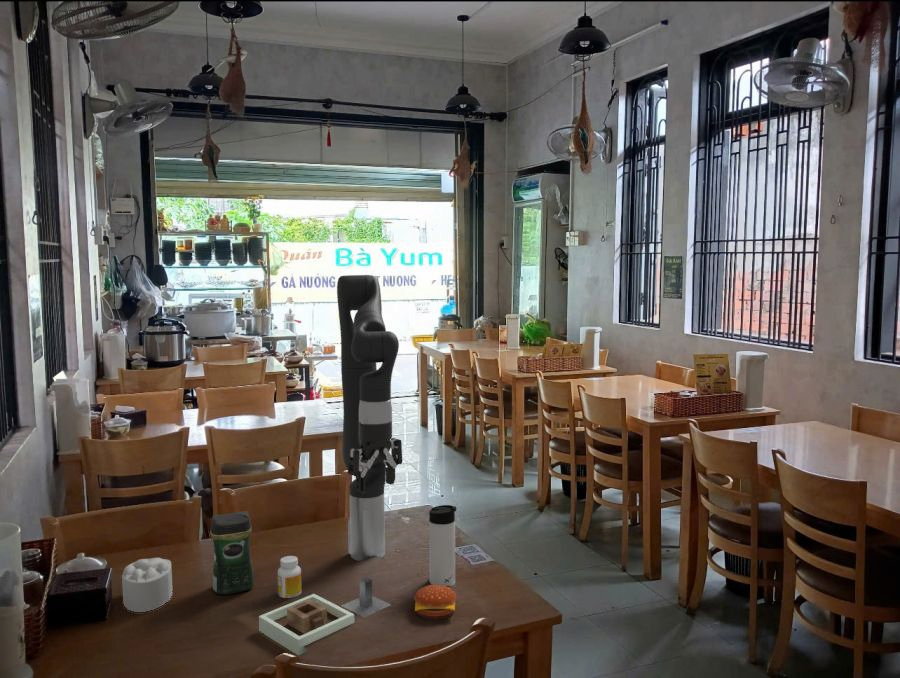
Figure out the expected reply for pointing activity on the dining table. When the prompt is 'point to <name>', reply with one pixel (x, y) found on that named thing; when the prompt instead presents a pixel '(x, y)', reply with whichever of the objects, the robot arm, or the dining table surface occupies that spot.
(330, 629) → the tray
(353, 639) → the dining table surface
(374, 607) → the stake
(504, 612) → the dining table surface
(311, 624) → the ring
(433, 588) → the hamburger
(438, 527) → the travel mug
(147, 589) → the lumpy-topped squat cylinder
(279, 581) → the supplement bottle
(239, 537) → the coffee jar
